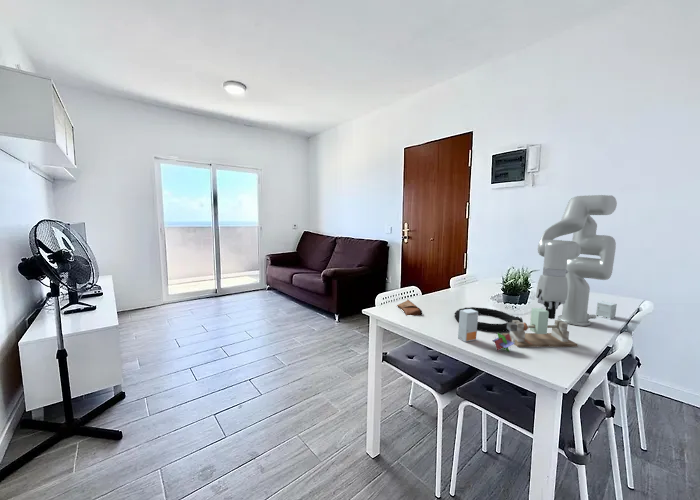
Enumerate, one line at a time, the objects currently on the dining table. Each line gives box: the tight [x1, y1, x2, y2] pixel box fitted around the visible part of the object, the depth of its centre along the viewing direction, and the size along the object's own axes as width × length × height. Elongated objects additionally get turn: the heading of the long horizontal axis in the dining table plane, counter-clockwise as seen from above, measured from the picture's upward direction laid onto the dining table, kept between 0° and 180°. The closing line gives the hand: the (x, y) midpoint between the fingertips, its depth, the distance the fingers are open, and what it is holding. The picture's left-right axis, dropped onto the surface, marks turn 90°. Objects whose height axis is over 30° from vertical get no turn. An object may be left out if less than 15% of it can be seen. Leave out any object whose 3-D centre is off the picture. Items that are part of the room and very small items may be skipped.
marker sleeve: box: [529, 307, 549, 334], centre depth 118 cm, size 4×4×9 cm
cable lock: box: [454, 306, 524, 333], centre depth 140 cm, size 28×4×30 cm
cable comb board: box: [501, 319, 579, 348], centre depth 119 cm, size 25×11×8 cm, turn 93°
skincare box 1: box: [457, 309, 479, 343], centre depth 119 cm, size 6×4×12 cm
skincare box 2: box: [595, 300, 618, 319], centre depth 151 cm, size 6×6×7 cm
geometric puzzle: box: [492, 332, 515, 353], centre depth 110 cm, size 7×7×8 cm
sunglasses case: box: [396, 299, 423, 316], centre depth 156 cm, size 18×7×7 cm
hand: (549, 317), depth 118 cm, fingers closed
